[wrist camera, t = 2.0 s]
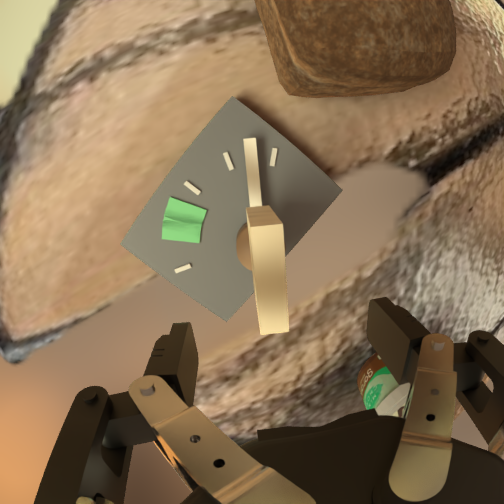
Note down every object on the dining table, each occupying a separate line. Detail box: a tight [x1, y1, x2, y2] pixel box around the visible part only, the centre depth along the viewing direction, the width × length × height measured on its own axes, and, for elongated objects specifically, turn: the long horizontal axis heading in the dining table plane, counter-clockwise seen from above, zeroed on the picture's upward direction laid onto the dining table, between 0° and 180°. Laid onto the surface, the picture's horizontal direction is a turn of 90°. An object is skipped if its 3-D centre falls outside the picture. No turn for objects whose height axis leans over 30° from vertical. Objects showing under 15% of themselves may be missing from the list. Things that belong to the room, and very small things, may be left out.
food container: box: [357, 352, 411, 417], centre depth 30 cm, size 12×6×10 cm, turn 6°
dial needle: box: [236, 138, 289, 335], centre depth 21 cm, size 12×4×10 cm, turn 5°
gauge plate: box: [121, 96, 342, 322], centre depth 27 cm, size 13×17×2 cm
